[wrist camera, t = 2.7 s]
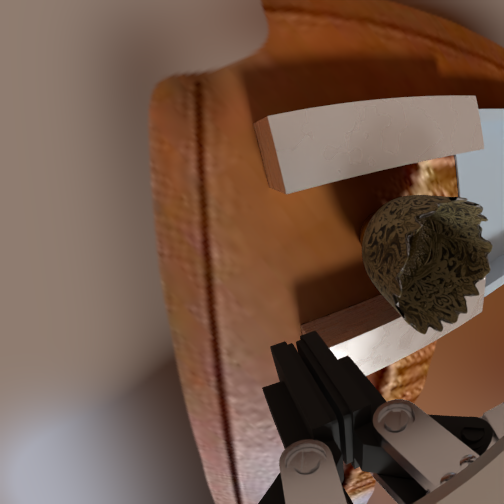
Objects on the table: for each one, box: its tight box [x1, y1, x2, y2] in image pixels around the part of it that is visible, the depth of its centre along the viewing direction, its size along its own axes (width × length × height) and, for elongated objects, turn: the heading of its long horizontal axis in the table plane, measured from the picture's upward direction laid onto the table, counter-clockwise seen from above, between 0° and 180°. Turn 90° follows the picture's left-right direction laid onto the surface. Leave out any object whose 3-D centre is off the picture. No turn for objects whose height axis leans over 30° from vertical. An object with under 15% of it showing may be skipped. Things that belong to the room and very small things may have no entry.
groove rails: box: [253, 96, 486, 376], centre depth 19 cm, size 16×18×4 cm
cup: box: [360, 195, 493, 334], centre depth 17 cm, size 8×7×8 cm
